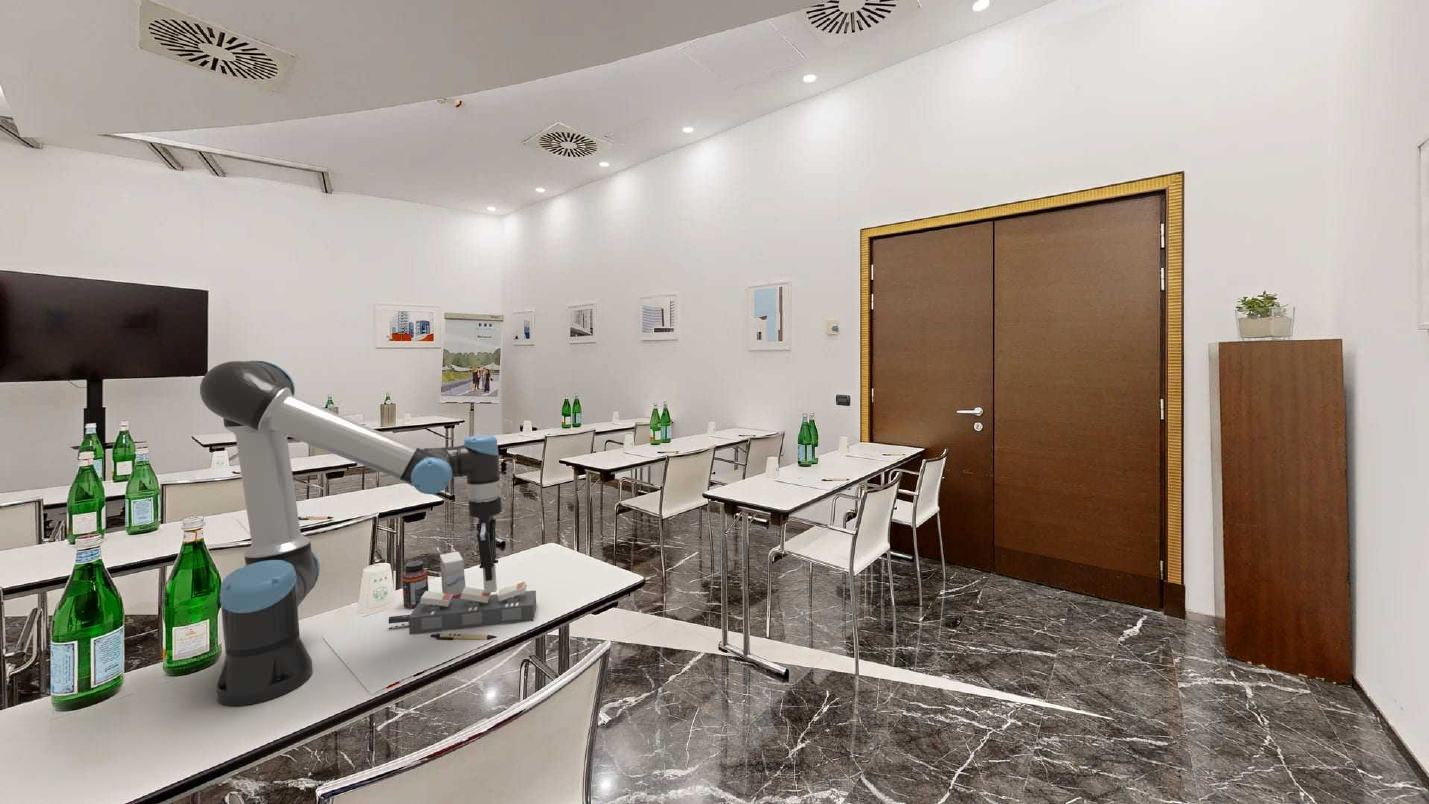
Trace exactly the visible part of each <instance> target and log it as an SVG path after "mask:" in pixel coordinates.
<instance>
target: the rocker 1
mask: <svg viewBox="0 0 1429 804" xmlns="http://www.w3.org/2000/svg"><path fill="white" fill-rule="evenodd" d="M452 596H453V594H446V593H442V592H438V591H429V590H428V591H425V592H424V594H423V595H422V597H421V600H420V603H423V604H431V605H432V606H433V607H434V606H435V605H439V606H449V604H450V602H451V600H452Z"/></svg>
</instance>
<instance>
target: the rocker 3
mask: <svg viewBox="0 0 1429 804" xmlns="http://www.w3.org/2000/svg"><path fill="white" fill-rule="evenodd" d="M527 589H528V587H527V582H526V581H522V582H519V583H516V584H513V585H511V586H507V587H504V588H502V589H499V591H498V593H497V594H498V599H499V601H502V600H505V599H508V598H512V599H513V598H514V596H517V595H520V594H523V593H525V592H526V591H527Z"/></svg>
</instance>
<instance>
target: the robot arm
mask: <svg viewBox="0 0 1429 804" xmlns="http://www.w3.org/2000/svg"><path fill="white" fill-rule="evenodd" d="M199 385H200V387H199V395H200V398H201V401H202V403H203V404H204V406H206V408H207V409H208V410H209V411H211V412H212V413H213V414H215V415H217V416H218V417H221V418H222V419H223V425H224V428H225V429H226V430H228V431H229V432H232V433H233V434H234V436H235V441H236V447H237V449H236V450H237V454H238V461H239V467H240V468H239V469H240V475H241V481H242V487H243V488H242V489H243V494H244V495H243V496H244V501H245V507H246V514H247V520H248V527H249V534H250V535H249V536H250V541H251V545H250V546H249V547H248V548H247V550H246V551H245V552H244V553H243V555H244V562H245V563H244V564H245V565H244V566H243V567H241V568H237V569H235V570H233V571H232V572H231V573H229V574H227V576H226V577H225V578H224V579H223V580H222V582H221V584H220V593H219V603H220V606H221V607H220V608H221V619H222V628H223V639H224V649H225V651H224V652H225V657H224V661H223V664H222V668H221V670H220V674H219V676H218V680H217V684H216V690H215V691H216V699H217V701H218V703H220V704H222V705H225V706H232V707H233V706H234V707H235V706H236V707H237V706H247V705H253V704H258V703H262V702H265V701H268V700H271V699H274V698H275V699H276V698H278V697H281V696H282V695H284V694H287V693H289V692H291V691H294V689H295V690H296V689H297V688H298V687H300V686H302V685H303V684H304V683H305V682H307V681H308V680H309V679H310V678H311V676H312V674H313V671H314V670H313V669H314V668H313V660H312V658H311V656H310V654H309V651H308V650H307V648H306V646H305V644H304V643H303V640H302V639H301V636H300V635H301V634H300V623H299V621H300V620H299V611H298V610H299V606H300V605H301V603H302V602H303V601H304V599H306V597H307V596H308V594H309V593H311V591H312V589H314V587H315V586H316V583H317V582H318V579H319V576H320V575H319V574H320V571H321V567H320V566H321V565H320V561H319V559H318V556H317V555H316V553H315V552H314V551H312V545H311V540H310V538H309V537H307V536H305V535H303V534H302V532H301V527H300V519H299V513H298V512H299V511H298V505H297V499H296V492H295V484H294V478H293V470H292V463H291V457H290V448H289V443H288V441H289V440H288V437H289V438H292V439H294V440H297V441H299V442H301V443H302V442H303V443H305V444H306V445H310V446H313V447H315V448H317V449H321V450H323V451H326V452H327V453H329V454H330V453H331V454H333V455H335V456H338V457H341V458H343V459H346V460H349V461H351V462H354V463H356V464H359V465H362V466H365V467H366V468H369V469H372V470H375V471H377V472H380V473H382V474H384V475H388V476H390V477H393V478H395V479H398V480H401V481H403V482H405V483H408V484H411V485H412V486H413V487H414V488H415V489H416V490H417V491H418V492H419V493H422V494H425V495H434V494H438V493H440V492H442V491H443V490H445V489H446V487H447V486H448V485H449V484H450V483H451V481H452V479H454V478H463V477H466V490H467V492H466V493H467V499H468V500H469V501H468V515H469V516H470V517H472V518H477V519H478V522H477V523H476V531H477V533H476V539H477V544H478V552H479V553H478V554H479V559H480V560H479V561H480V564H479V569H482V574H483V576H482V577H483V590H484V593H489V592H491V593H495V592H497V590H498V586H497V570H496V569H497V568H496V564H499V559H497V544H496V543H497V541H496V537H497V536H496V534H497V533H496V526H497V519H496V518H494V516H497V515H500V514H501V513H502V510H503V509H502V507H503V505H502V498H501V497H500V496H501V494H502V493H501V488H504V484H503V483H500V482H501V477H500V458H499V457H500V456H499V448H498V447H499V446H498V439H497V438H496V437H495V436H494V435H491V434H480V435H478V434H477V435H472V436H467V437H465V439H464V442H463V445H457V446H447V447H443V446H442V447H432V448H431V447H429V448H428V447H425V448H420V447H417V446H416V445H412V444H411V443H408V442H406V441H403V440H400V439H399V438H396V437H393V436H391V435H388V434H386V433H384V432H381V431H378V430H377V429H374V428H371V427H369V426H367V425H365V424H362V423H359V422H358V421H356V420H352V419H350V418H348V417H345V416H343V415H340V414H339V413H336V412H333V411H331V410H328V409H325V408H324V407H321V406H318V405H316V404H314V403H311V402H309V401H307V400H305V399H301V398H299V397H297V396H295V395H296V394H295V393H296V387H295V385H296V384H295V382H294V380H293V378H292V376H291V375H290V374H289V373H288V372H287V370H285V369H284V368H282V367H281V366H279V365H277V364H275V363H272V362H268V361H264V360H244V361H243V360H236V361H235V360H233V361H226V362H222V363H220V364H217V365H215V366H214V367H212V368H211V369H209V370H208V371H207V372H206V373H205V375H204V376H203V378H202V379H201V382H200V384H199Z"/></svg>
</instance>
